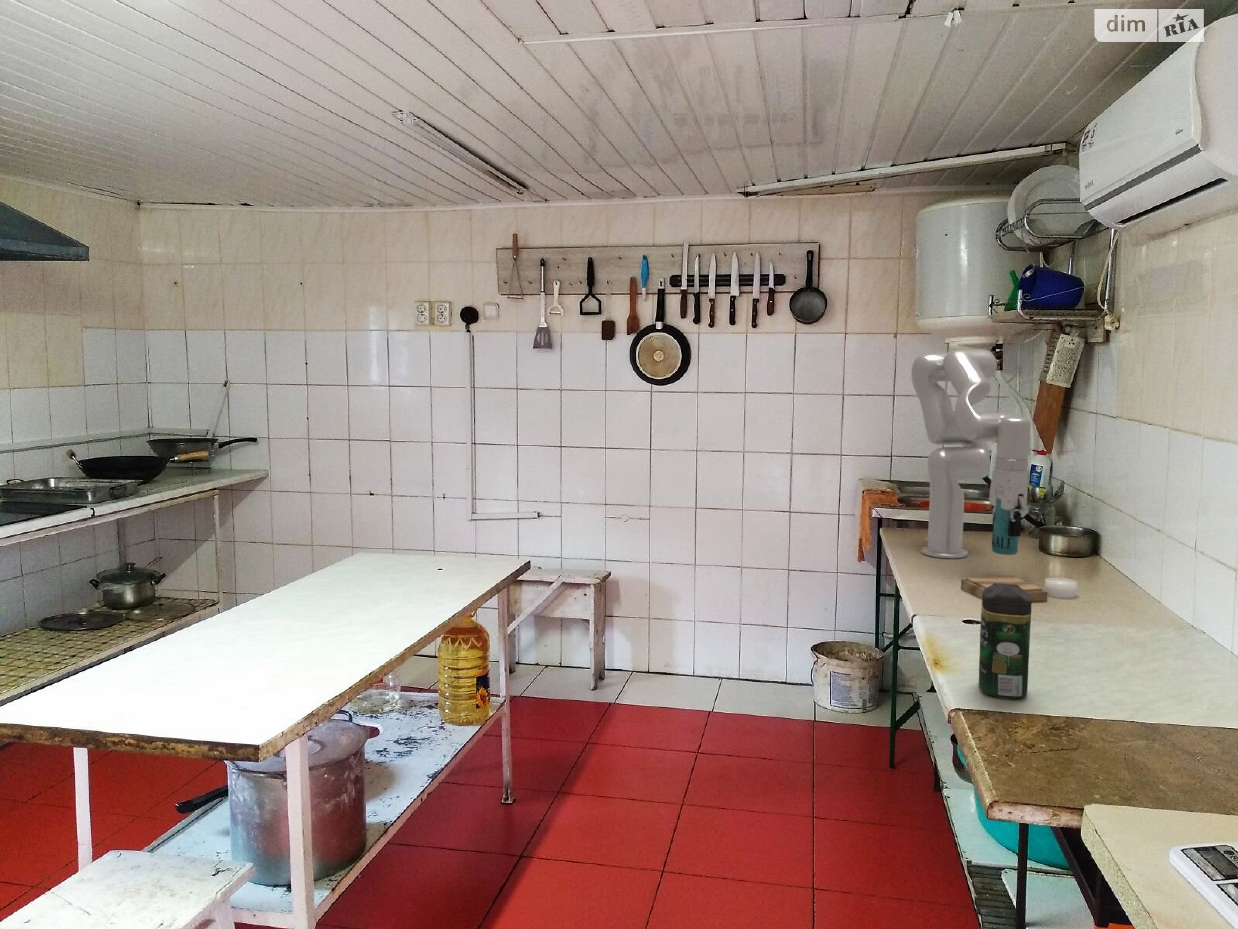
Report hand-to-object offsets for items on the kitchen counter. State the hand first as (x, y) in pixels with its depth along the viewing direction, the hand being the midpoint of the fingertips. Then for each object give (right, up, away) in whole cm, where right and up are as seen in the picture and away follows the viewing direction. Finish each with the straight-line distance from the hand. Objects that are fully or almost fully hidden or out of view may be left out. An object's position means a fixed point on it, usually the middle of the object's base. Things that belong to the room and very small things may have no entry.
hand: (1006, 532), depth 229 cm
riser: (-7, -14, -13) cm, 21 cm away
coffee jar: (-34, -22, -75) cm, 85 cm away
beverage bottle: (0, -7, +1) cm, 7 cm away
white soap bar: (+7, -14, -13) cm, 21 cm away
